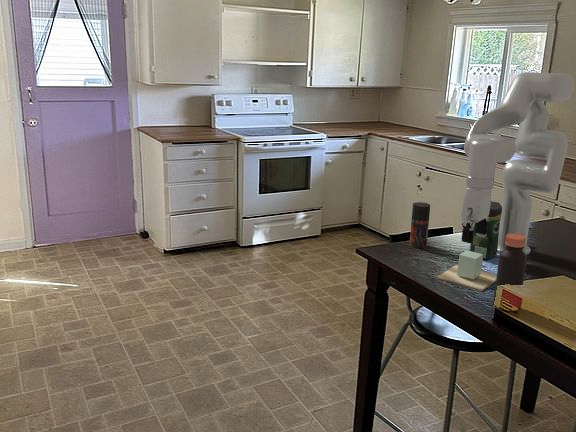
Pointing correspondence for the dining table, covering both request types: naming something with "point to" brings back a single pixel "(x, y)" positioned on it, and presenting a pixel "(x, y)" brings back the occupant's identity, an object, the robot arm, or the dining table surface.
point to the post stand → (477, 283)
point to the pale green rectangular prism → (470, 264)
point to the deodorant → (419, 225)
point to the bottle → (511, 262)
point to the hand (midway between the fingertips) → (474, 238)
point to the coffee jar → (488, 234)
